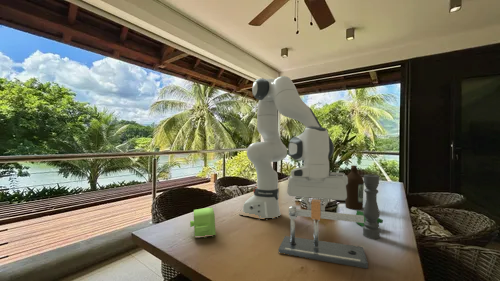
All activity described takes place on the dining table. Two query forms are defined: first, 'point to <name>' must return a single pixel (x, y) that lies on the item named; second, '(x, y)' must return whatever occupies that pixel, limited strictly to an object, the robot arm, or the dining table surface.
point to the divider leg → (316, 218)
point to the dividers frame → (324, 215)
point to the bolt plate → (325, 251)
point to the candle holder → (371, 207)
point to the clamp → (365, 219)
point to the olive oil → (354, 190)
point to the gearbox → (203, 222)
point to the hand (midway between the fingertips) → (316, 210)
